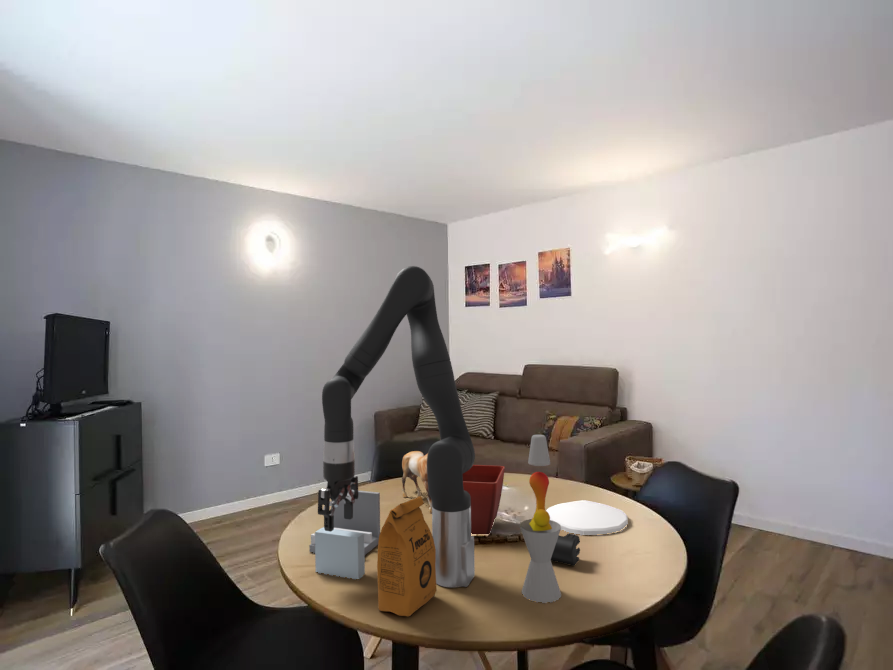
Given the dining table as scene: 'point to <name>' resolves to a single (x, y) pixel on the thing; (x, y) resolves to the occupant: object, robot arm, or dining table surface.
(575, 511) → the decorative plate
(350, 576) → the door panel
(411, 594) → the coffee package
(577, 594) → the dining table surface
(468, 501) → the robot arm
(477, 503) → the plant pot
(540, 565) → the lava lamp
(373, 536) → the grey slotted stand
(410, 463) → the horse figurine
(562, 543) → the end cap
